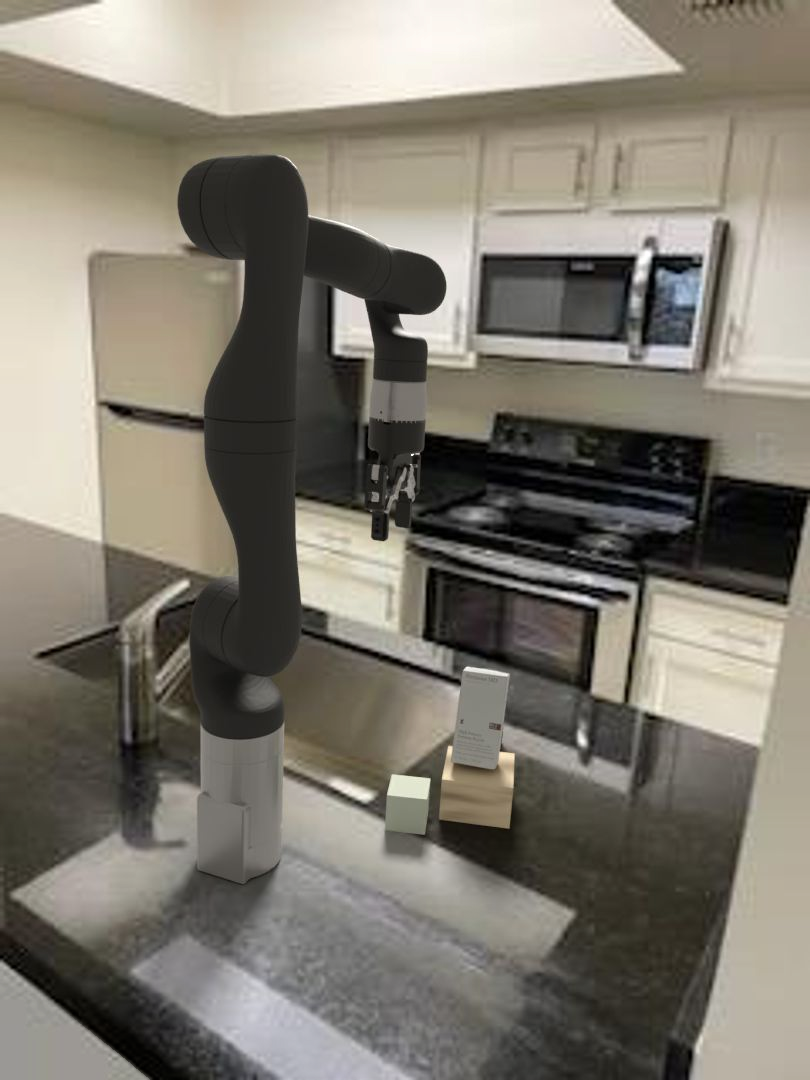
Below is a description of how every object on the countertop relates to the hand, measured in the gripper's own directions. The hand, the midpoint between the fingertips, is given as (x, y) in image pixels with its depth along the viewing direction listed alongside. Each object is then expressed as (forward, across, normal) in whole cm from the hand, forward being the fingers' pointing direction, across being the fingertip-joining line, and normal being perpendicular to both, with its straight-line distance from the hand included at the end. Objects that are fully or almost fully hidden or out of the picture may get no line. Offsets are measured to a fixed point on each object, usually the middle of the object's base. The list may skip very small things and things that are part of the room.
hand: (391, 533), depth 115 cm
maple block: (+33, +7, +17) cm, 38 cm away
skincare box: (+27, +8, +16) cm, 33 cm away
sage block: (+33, +15, +10) cm, 38 cm away
